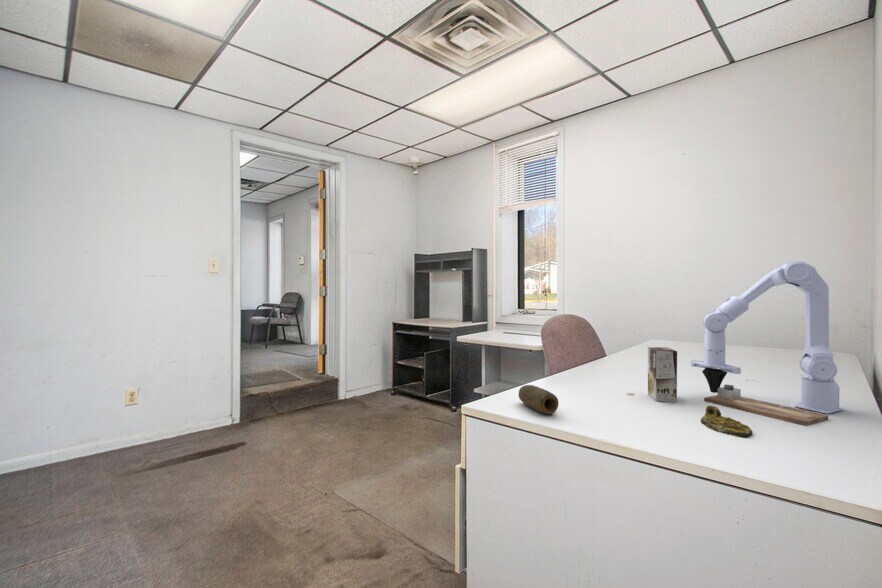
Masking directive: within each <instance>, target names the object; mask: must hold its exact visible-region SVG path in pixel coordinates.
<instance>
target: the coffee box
mask: <svg viewBox="0 0 882 588" xmlns="http://www.w3.org/2000/svg"><path fill="white" fill-rule="evenodd" d="M647 395H648V396H649V395H650V396H649V397H651V399H653V400H654V401H656V402H666V403H667V402H668V403H669V402H670V403H677V400H678V398H677V397H678V351H677V350H674V349H672V348H670V347H664V346H663V347H662V346H659V347H658V346H657V347H655V346H654V347H647Z"/></svg>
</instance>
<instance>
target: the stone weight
mask: <svg viewBox="0 0 882 588" xmlns="http://www.w3.org/2000/svg"><path fill="white" fill-rule="evenodd" d="M518 398H519V400H520V401H521V403H523V404H525V405H526V406H528V407H529V408H531V409H533V410H535V411H537V412H539V413H542V414H545V415H553V414H554V413H555V412H556V411H557V410H558V408H559V399H558V397H557V396H556V395H555V394H554V393H552V392H551V391H549V390H547V389H544V388H541V387H539V386H535V385H533V384H525V385H522V386H521V387H520V388H519V389H518Z"/></svg>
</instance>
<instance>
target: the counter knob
mask: <svg viewBox="0 0 882 588" xmlns="http://www.w3.org/2000/svg"><path fill="white" fill-rule="evenodd" d="M734 386H735V385H732V384H724V386H720V388H717V398H721V399H726V400H730V401H732V400H737V399H741V397H742V396H741V395H742V394H741V391H742V390H741V388H736V387H734Z"/></svg>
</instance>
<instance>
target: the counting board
mask: <svg viewBox="0 0 882 588" xmlns="http://www.w3.org/2000/svg"><path fill="white" fill-rule="evenodd" d="M703 401H704V402H708V403H711V404H716V405H720V406H724V407H728V408H731V409H736V410H740V411H743V412H748V413H752V414H756V415H761V416H764V417H768V418H773V419H777V420H781V421H784V422H789V423H792V424H796V425H801V426H809V425H813V424H816V423H820V422H823V421H826V420H827V421H828V419H829V415H828V414H824V413H820V412H815V411H811V410H806V409H805V410H804V409H801V408H797V407H791V406H786V405H783V404H777V403H772V402H768V401H763V400H759V399H754V398H749V397H745V396H741V399H737V400H732V401H730V400H726V399H721V398H717V395H716V394H715V395H711V396H705V397H703Z"/></svg>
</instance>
